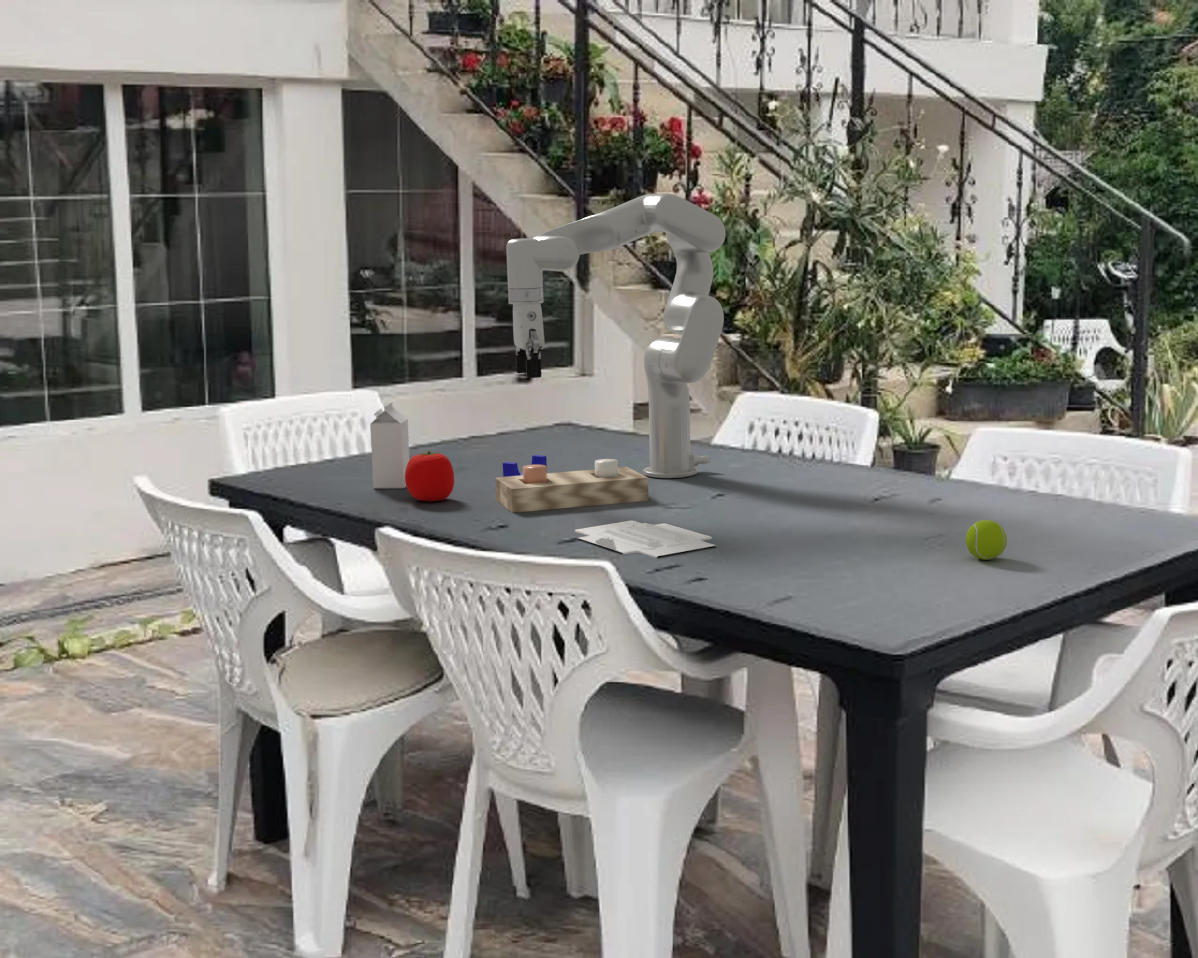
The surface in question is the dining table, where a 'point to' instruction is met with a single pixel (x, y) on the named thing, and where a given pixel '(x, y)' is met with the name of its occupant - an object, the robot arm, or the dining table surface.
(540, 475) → the peach rounded piece
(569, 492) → the housing
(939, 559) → the dining table surface
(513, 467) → the cable clip
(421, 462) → the tomato
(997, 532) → the tennis ball
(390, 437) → the milk carton
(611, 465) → the white domed cylinder
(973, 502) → the dining table surface
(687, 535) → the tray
